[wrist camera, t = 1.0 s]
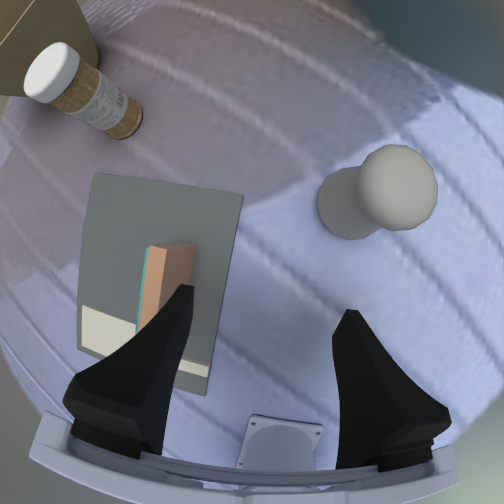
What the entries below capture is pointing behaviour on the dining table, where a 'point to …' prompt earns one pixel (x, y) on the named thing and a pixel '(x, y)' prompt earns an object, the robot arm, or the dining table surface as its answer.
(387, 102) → the dining table surface
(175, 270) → the tile
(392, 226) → the salt shaker
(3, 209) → the dining table surface
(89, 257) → the mat
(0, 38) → the plant pot
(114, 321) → the turner
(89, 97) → the sprinkles bottle
